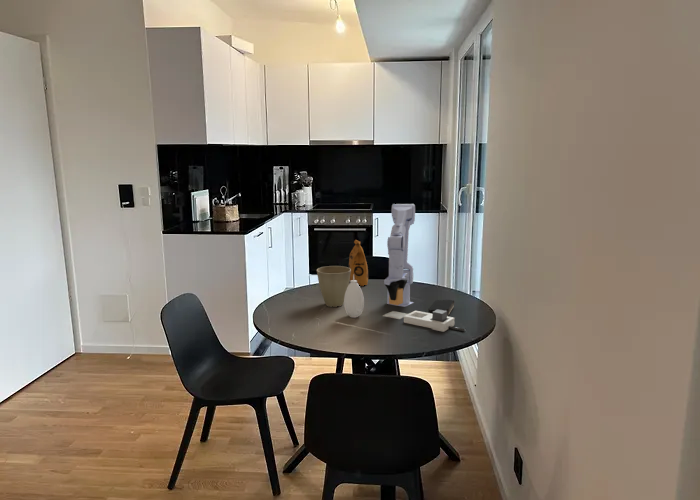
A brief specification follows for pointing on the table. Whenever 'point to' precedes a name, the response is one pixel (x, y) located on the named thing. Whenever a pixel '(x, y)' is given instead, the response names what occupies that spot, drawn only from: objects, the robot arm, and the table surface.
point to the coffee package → (358, 265)
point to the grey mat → (395, 315)
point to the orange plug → (397, 297)
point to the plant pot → (333, 284)
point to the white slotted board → (430, 321)
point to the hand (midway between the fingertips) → (396, 298)
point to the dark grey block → (439, 315)
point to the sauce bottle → (354, 299)
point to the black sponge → (442, 306)
